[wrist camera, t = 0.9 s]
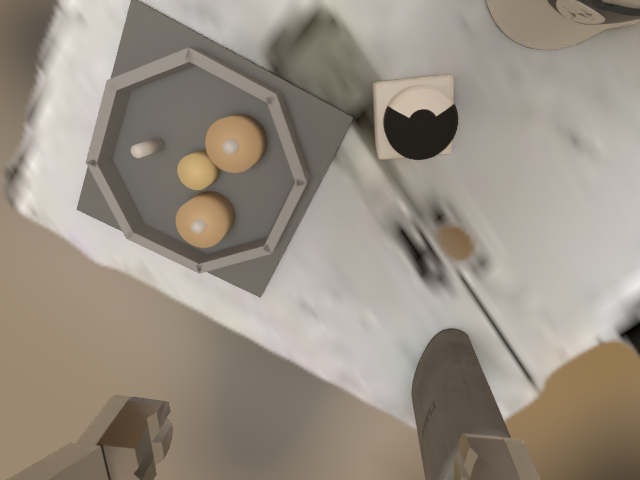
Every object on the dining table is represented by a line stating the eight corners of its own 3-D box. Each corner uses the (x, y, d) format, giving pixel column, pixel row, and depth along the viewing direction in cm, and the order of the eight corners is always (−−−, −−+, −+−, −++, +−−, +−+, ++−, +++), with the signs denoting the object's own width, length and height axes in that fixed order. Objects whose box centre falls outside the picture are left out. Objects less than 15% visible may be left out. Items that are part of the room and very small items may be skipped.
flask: (432, 323, 54) (470, 451, 35) (474, 332, 54) (535, 465, 35) (402, 405, 59) (422, 553, 41) (441, 413, 59) (478, 565, 41)
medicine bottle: (439, 143, 45) (465, 164, 34) (375, 148, 46) (380, 171, 35) (440, 74, 42) (468, 73, 31) (372, 82, 43) (376, 83, 32)
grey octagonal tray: (136, -1, 42) (102, -12, 37) (353, 116, 45) (352, 122, 39) (81, 207, 52) (48, 222, 46) (262, 293, 54) (251, 318, 49)
